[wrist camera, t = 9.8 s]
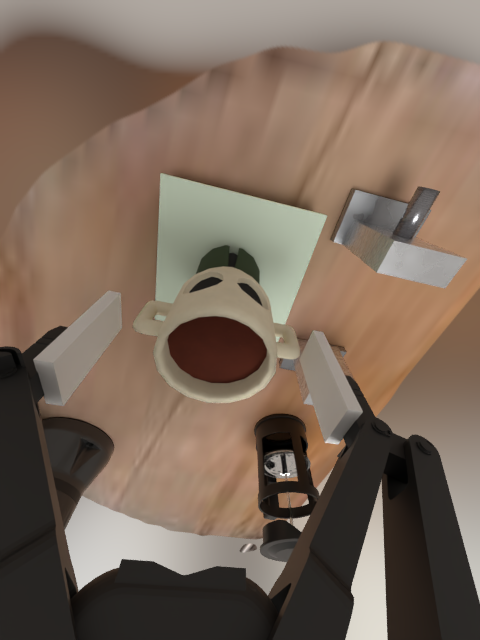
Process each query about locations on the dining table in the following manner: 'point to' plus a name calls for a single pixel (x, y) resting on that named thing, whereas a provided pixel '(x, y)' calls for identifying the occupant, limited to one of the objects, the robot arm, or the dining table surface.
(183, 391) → the character mug
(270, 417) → the french press
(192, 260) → the stand
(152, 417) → the dining table surface
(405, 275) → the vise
